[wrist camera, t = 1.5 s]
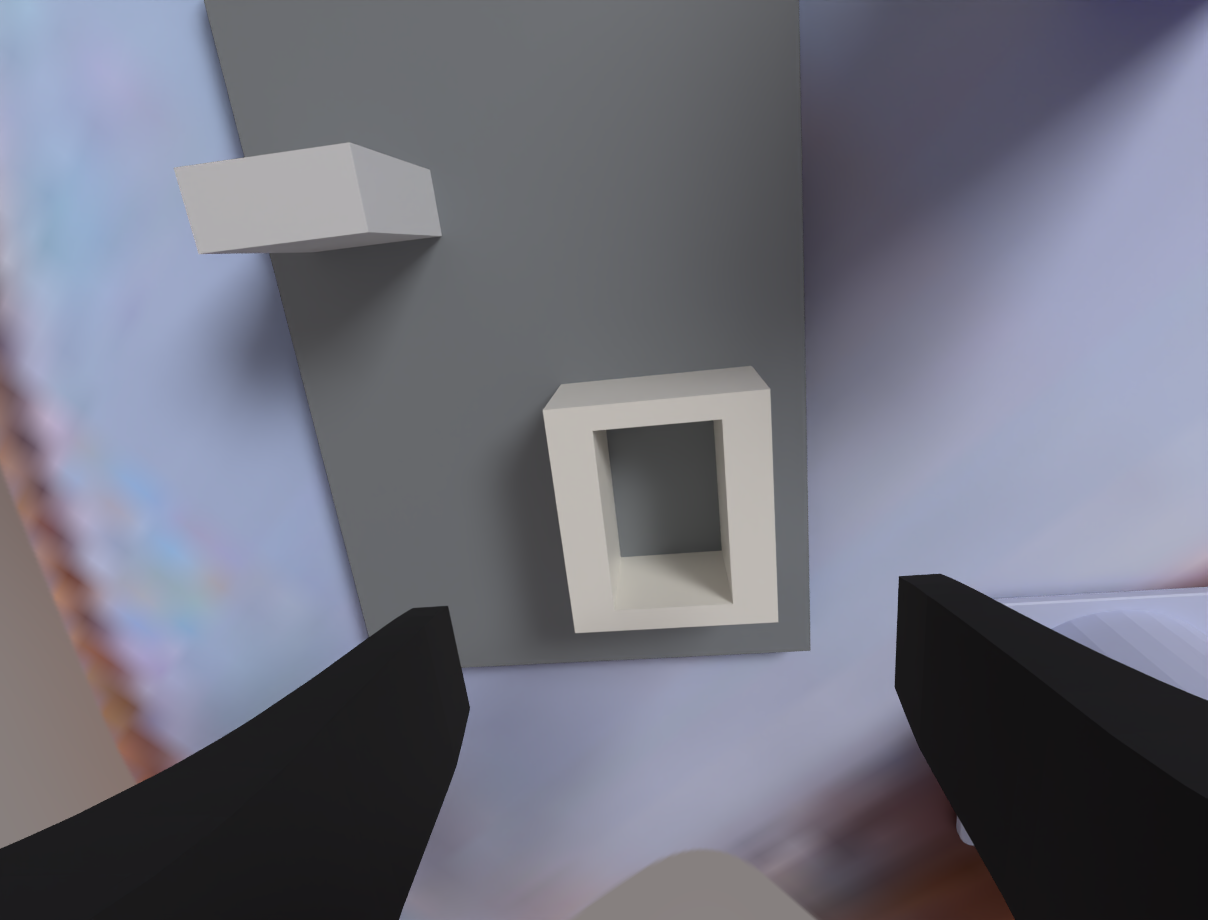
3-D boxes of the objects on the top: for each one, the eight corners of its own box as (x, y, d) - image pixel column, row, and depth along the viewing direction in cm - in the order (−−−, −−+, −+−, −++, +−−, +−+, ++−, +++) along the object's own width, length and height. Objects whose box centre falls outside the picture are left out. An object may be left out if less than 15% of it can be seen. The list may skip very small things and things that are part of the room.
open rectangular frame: (751, 365, 17) (770, 388, 14) (760, 566, 19) (778, 622, 16) (560, 384, 18) (542, 410, 15) (586, 577, 20) (575, 633, 17)
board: (803, 632, 21) (852, 761, 16) (390, 653, 22) (307, 777, 17) (787, -125, 15) (858, -331, 9) (220, -24, 16) (13, -153, 11)
